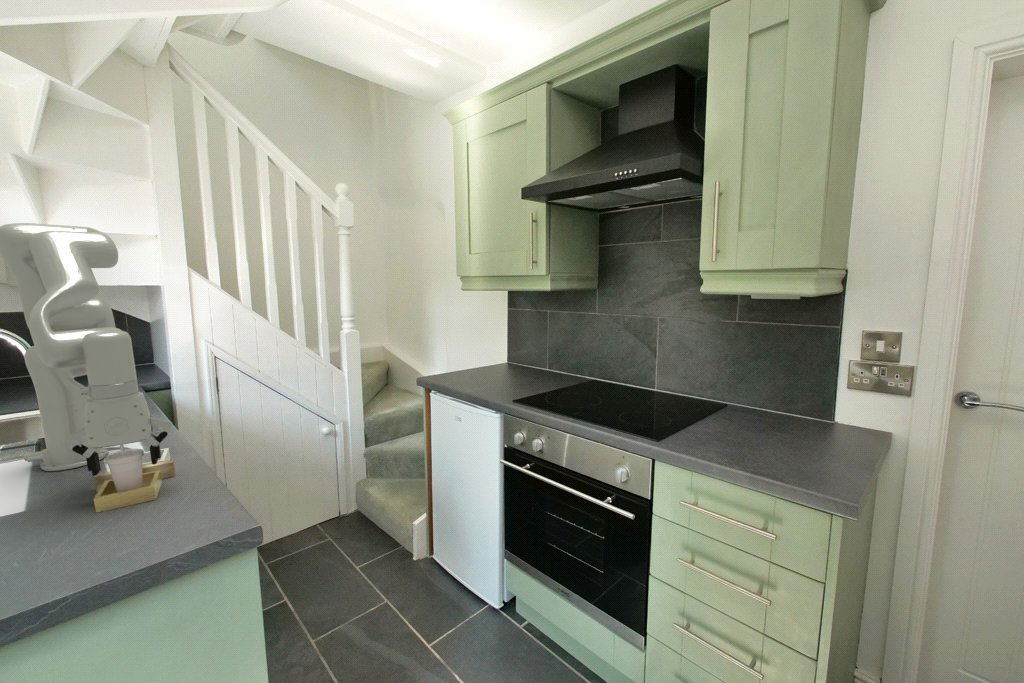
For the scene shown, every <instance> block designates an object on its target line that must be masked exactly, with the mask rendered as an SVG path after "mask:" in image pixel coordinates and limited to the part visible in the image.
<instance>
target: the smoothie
mask: <svg viewBox="0 0 1024 683" xmlns="http://www.w3.org/2000/svg"><path fill="white" fill-rule="evenodd" d="M119 447H120V450H119V451H115V452H113V453H110V454H108V455H107V456H106V457H105V458H104V461H105V462H104V463H105V465H107V467H108V469H109V472H111V475H112V478H113V481H114V484H115V487H116V490H117V492H123V491H128V490H132V489H137V488H142V468H143V456H144V452H145V451H144V449H143V448H137V447H136V448H128V449H125V446H124V444H123V445H119Z"/></svg>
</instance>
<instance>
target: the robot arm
mask: <svg viewBox="0 0 1024 683" xmlns="http://www.w3.org/2000/svg"><path fill="white" fill-rule="evenodd" d="M0 256H1V258H2V260H3V262H4V263H5V265H6V266H7V267H8V269H9V271H10V272H11V273H12V274H13V276H14V278H15V280H16V282H17V286H18V291H19V296H20V302H21V306H22V309H23V310H22V311H23V316H24V320H25V323H26V325H27V329H29V333H30V336H31V340H32V342H33V345H32V346H30V347H29V348H27V349H26V351H25V353H24V357H23V358H24V363H25V366H26V369H27V372H28V374H29V375H30V378H31V381H32V383H33V387H34V390H35V394H36V398H37V404H38V409H39V414H40V419H41V426H42V431H43V437H44V443H45V446H46V448H45V449H42V450H40V451H32V452H26V453H24V454H23V459H24V461H25V462H27V463H30V462H33V463H34V462H37V461H41V463H40V469H41V470H43V471H46V472H57V471H59V472H60V471H65V470H71V469H75V468H81V467H84V466H86V467H87V471H88V472H91V475H92V476H93V477H95V475H97V474H99V473H100V472H101V462H100V460H103V459H105V457H106V456H108V455H109V451H108V449H107V448H110V447H116V446H117V447H118V446H120V445H123V446H124V445H129V444H134V443H140V442H143V441H145V442H146V443H148V444H149V445H150V447H149V451H150V454H151V461H152V464H153V465H154V464H157V461H158V459H159V458H161V452H160V449H161V447H160V444H161V443H162V442H163V441H164V440H165V438H166V437H167V436H168V435H169V432H170V430H171V428H172V426H173V422H172V421H169V420H164V419H161V418H156V417H151V413H150V409H149V406H148V402H147V399H146V397H145V394H144V393H143V392H141V391H140V390H139V384H138V378H137V370H136V364H135V357H134V356H135V355H134V350H133V343H132V338H131V335H130V334H129V332H127V331H124V330H122V329H120V328H117V327H116V323H115V317H114V313H113V310H112V308H111V306H110V304H109V303H108V301H107V300H106V299H105V298H103V297H100V296H97V295H98V294H99V292H100V286H99V284H98V281H97V279H96V277H95V274H94V272H93V269H110V268H113V267H115V266H116V265H117V264H118V262H119V251H118V248H117V245H116V243H115V241H113V239H112V238H111V237H110V236H109V235H108V234H107V233H105V232H103V231H100V230H99V229H95V228H92V227H89V226H87V227H86V226H76V225H60V224H48V223H33V222H32V223H30V222H29V223H28V222H27V223H26V222H18V223H17V222H15V223H14V222H13V223H8V224H3V225H0ZM83 376H87V382H88V385H87V386H85V385H83V384H82V383H80V382H78V381H76V380H75V378H78V377H83ZM153 426H156V427H160V428H162V430H161V431H160V433H159V434H158V435H156V434H155V433H153Z"/></svg>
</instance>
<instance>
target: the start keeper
mask: <svg viewBox="0 0 1024 683" xmlns="http://www.w3.org/2000/svg"><path fill="white" fill-rule="evenodd" d="M160 452H161V458H159V459H158V461H157V463H158V462H163V461H169V460H171V454H170V448H169V447H166V448H160ZM147 464H152V461H151V454H150V450H149V451H144V456H143V465H147Z"/></svg>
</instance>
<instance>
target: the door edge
mask: <svg viewBox="0 0 1024 683" xmlns="http://www.w3.org/2000/svg"><path fill="white" fill-rule="evenodd" d="M158 470H160V471H161V478H162V480H163V479H168V478H169V479H170V478H173V477H176V474H177V473H176V463H175V459H170V460H169V461H163V462H158V463H157V464H154V465H153V464H147V465H143V468H142V473H148V472H153V471H158ZM93 479H94V480H93V481H94V485H95V491H96V493H98V491H99V490H100V488H101V486H102V485H103V483H104V482H105V481H106V480H111V479H113V478H112V475H111V472H110V471H105V472H101V473H100V472H99V473H98V474H97V475H95V476H93Z"/></svg>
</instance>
